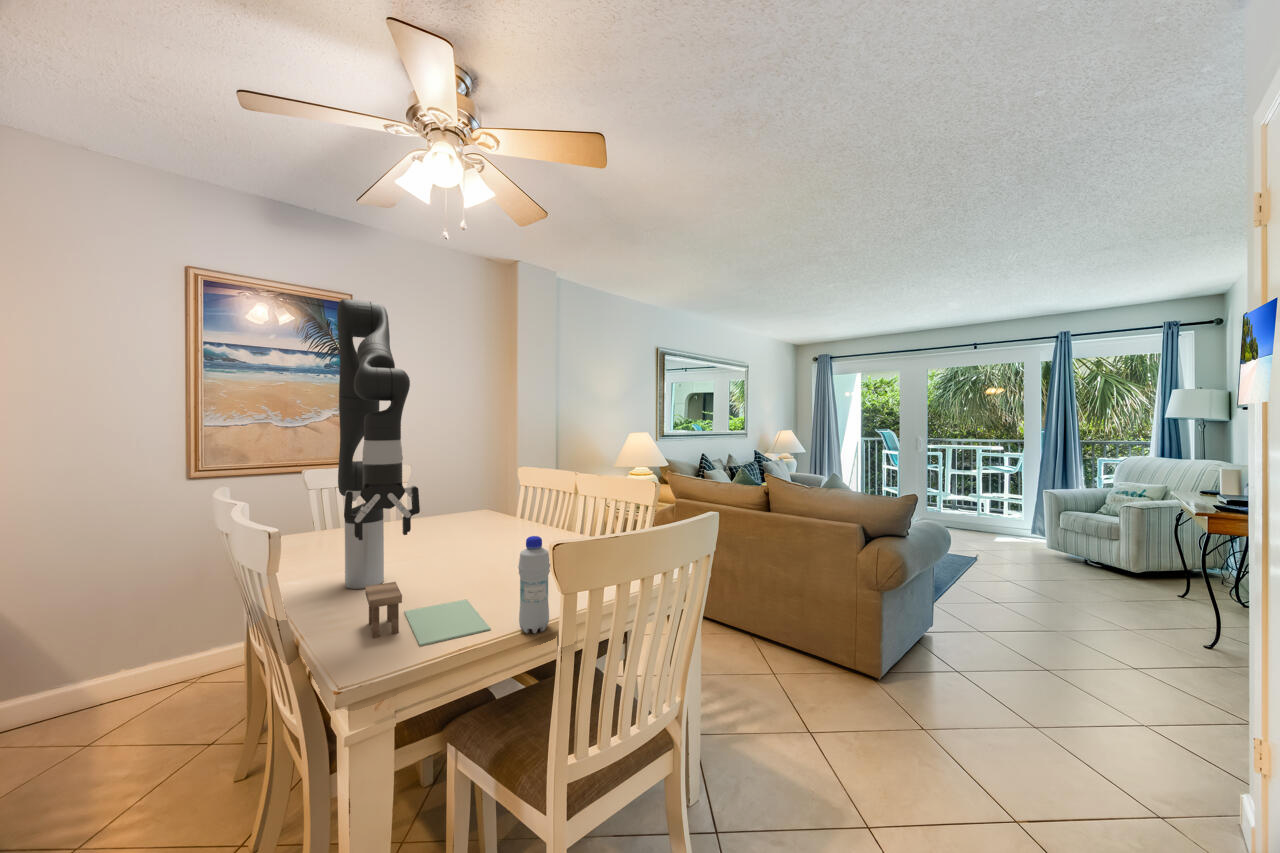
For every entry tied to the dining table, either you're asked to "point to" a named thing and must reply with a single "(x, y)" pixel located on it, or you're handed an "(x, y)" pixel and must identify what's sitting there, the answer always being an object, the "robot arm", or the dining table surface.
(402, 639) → the dining table surface
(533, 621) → the bottle
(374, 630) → the stool
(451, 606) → the mat
